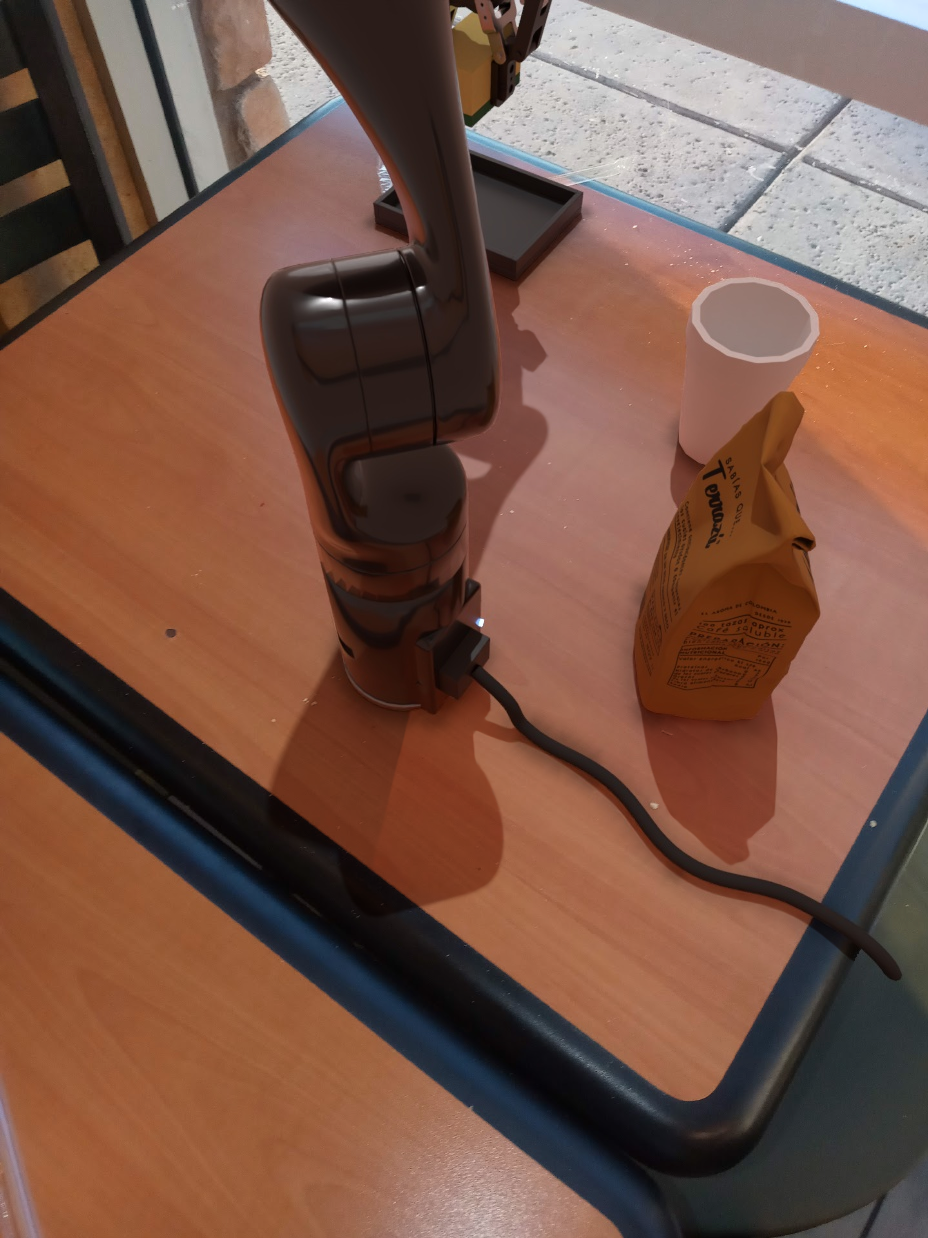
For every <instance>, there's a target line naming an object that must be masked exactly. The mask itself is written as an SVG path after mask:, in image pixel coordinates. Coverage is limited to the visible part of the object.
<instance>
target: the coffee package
mask: <svg viewBox="0 0 928 1238" xmlns="http://www.w3.org/2000/svg"><path fill="white" fill-rule="evenodd" d="M805 411H806V409H805V408H804V406H803V405H802V403H801V402H800V401H799V399H798V397H797V395H796V394H795V392H794V391H792V390H791V391H787V392H782V391H780V392H779V393H778V394H776V395H775V396H774V397H773V398H772V399H771V400H770V401H769V402H768V403H767V404H766V405H765V406H764V408H763V409H762V410H761V411H760V412H758V413H756V414H755V415H754V416H753V417H752V418H751V419H750V420H749V421H748V422H747V423H746V424H744V425H743V426H742V428H741V429H740V430H739V431H738V432H737V433H736V435H735V436H734V437H733V438H732V439H731V440H730V441H729V442H727V443H726V444H725V445H724V446H723V447H721V448H720V449H719V450H718V451H717V452H716V453H715V454H714V456H713V457H712V458H711V460H710V461H709V462H708V463H707V464H706V465H705V464H704V467H703V468H702V469H701V470H699V471H698V473H697V474H696V477H695V478H694V480H693V482H692V483H691V484H690V486H689V488H688V490H687V492H686V495H685V496H684V497H683V499H682V500H681V502H680V504H679V506H678V508H677V510H676V512H675V514H674V516H673V518H672V520H671V522H670V524H669V526H668V527H667V529H666V530H665V533H664V535H663V536H662V539H661V542H660V545H659V546H658V547H659V548H658V550H657V553H656V556H655V559H654V561H653V565H652V567H651V568H652V569H651V571H650V576H649V577H648V578H649V579H648V581H647V585H646V589H645V590H644V592H643V595H642V598H641V602H640V606H639V610H638V616H637V619H636V623H635V625H634V637H633V648H634V661H635V669H636V675H637V676H636V677H637V685H638V690H639V695H640V696H639V697H640V699H641V704H642V706H643V707H644V708H645V709H646V710H648V711H650V712H652V713H655V714H662V715H671V716H676V717H680V718H685V719H689V720H700V721H710V720H712V721H713V720H715V721H721V722H723V721H725V722H727V721H728V722H730V721H739V720H751V719H754V718H756V717H757V716H758V714H759V713H760V711H761V709H762V707H763V706H764V704H765V703H766V701H767V700H768V699H769V698H770V697H771V696H772V695H773V692H774V690H775V689H776V688H777V687H778V685H780V683H781V682H782V680H783V679H784V678H785V677H786V676H787V675H788V674H789V671H790V667H791V664H792V662H793V661H794V660H795V659H796V657H797V655H798V653H799V651H800V650H801V648H802V646H803V644H804V642H805V640H806V639H807V636H808V635H809V634H810V633H811V631H812V630H813V628H814V627H815V625H816V624H817V622H818V621H819V619H820V617H821V608H820V607H821V606H820V602H819V597H818V593H817V589H816V585H815V580H814V577H813V573H812V566H811V560H810V554H809V552H812V551H813V550H814V549H815V548H816V547H817V541H816V537H815V535H814V533H813V532H812V531H811V529H810V528H809V526H808V525H807V523H806V521H805V520H804V519H803V517H802V515H801V514H802V513H801V510H800V506H799V503H798V500H797V495H796V491H795V487H794V483H793V481H792V478H791V475H790V473H789V470H788V468H787V466H786V465H785V463H784V461H785V460H786V458H787V455H788V454H789V452H790V451H791V450H790V449H791V447H792V444H793V442H794V438H795V435H796V433H797V431H798V429H799V428H800V425H801V423H802V420H803V418H804V415H805Z"/></svg>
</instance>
